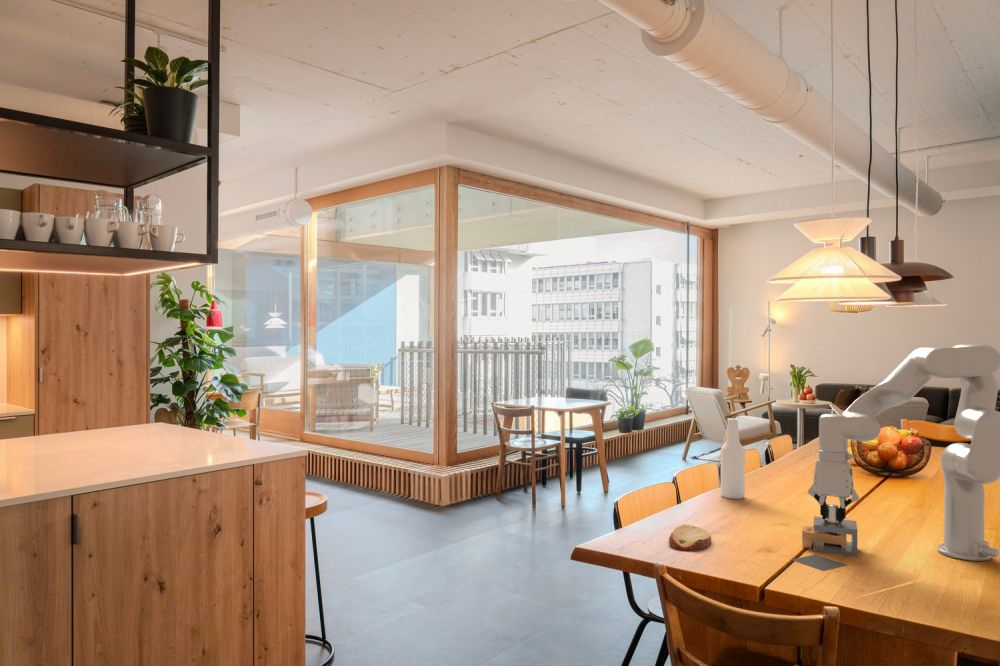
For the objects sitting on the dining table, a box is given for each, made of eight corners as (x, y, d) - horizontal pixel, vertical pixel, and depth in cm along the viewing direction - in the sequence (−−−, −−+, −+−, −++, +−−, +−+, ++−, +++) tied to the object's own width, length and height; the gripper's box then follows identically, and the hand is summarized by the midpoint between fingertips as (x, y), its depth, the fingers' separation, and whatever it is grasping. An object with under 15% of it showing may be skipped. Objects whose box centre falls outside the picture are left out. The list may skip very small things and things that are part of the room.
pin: (841, 538, 198) (841, 505, 198) (834, 540, 197) (834, 507, 197) (831, 535, 201) (831, 503, 201) (825, 537, 200) (825, 504, 200)
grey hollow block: (856, 548, 201) (856, 520, 201) (857, 558, 192) (857, 529, 192) (803, 541, 207) (803, 515, 207) (802, 551, 198) (802, 523, 198)
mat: (847, 566, 185) (847, 564, 185) (823, 572, 180) (823, 571, 180) (815, 555, 194) (815, 554, 194) (791, 561, 189) (791, 559, 189)
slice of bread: (692, 530, 220) (692, 518, 220) (731, 546, 203) (731, 533, 203) (645, 536, 213) (645, 524, 213) (682, 554, 196) (682, 541, 196)
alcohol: (741, 494, 267) (741, 417, 267) (747, 499, 258) (747, 420, 258) (718, 493, 268) (718, 417, 268) (723, 499, 259) (723, 419, 259)
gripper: (867, 458, 197) (867, 521, 197) (806, 451, 207) (806, 512, 207) (862, 462, 191) (861, 527, 191) (799, 455, 201) (799, 517, 201)
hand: (832, 518), depth 199 cm, fingers open, 3 cm apart
